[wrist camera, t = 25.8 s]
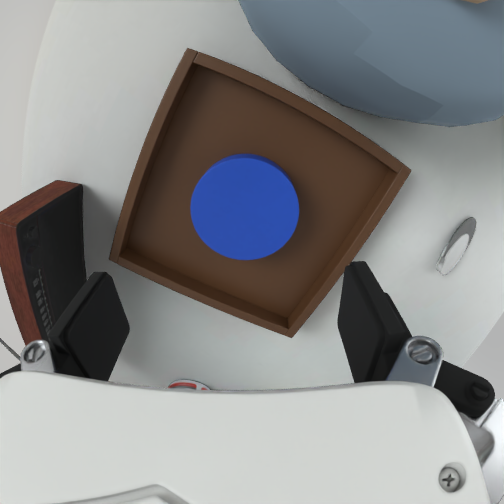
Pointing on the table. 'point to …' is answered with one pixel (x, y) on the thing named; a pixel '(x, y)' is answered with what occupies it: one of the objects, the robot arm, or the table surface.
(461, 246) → the grey oval piece
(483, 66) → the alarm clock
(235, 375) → the table surface
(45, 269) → the radio
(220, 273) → the walnut tray
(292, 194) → the jam lid
